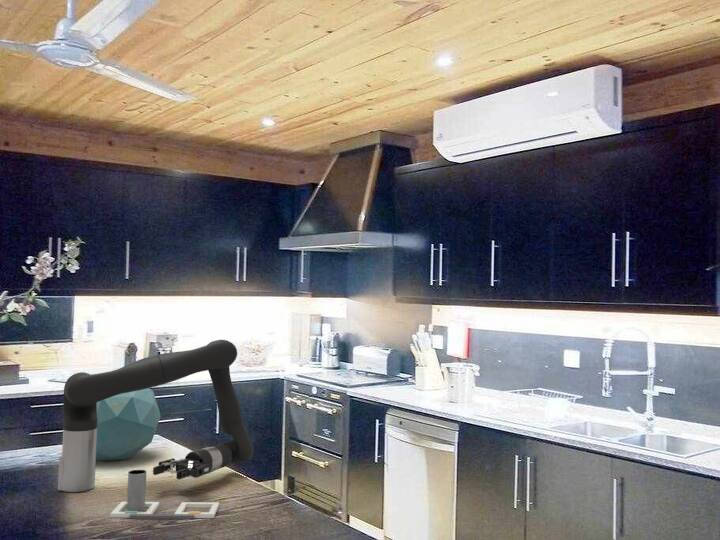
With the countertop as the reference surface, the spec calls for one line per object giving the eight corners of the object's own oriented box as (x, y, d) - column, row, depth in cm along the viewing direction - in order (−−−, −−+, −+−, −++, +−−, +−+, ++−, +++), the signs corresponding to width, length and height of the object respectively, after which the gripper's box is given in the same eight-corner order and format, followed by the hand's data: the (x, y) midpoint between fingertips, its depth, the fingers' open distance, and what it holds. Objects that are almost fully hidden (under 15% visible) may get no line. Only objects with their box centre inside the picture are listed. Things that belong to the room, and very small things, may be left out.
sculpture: (169, 408, 255) (129, 346, 242) (180, 448, 229) (135, 382, 216) (98, 448, 249) (53, 388, 236) (101, 495, 224) (50, 430, 211)
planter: (136, 507, 180) (137, 468, 180) (148, 510, 178) (150, 471, 178) (122, 512, 176) (124, 472, 176) (135, 515, 174) (137, 474, 174)
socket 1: (110, 517, 171) (110, 512, 171) (121, 505, 181) (121, 500, 181) (150, 517, 172) (150, 512, 172) (159, 505, 182) (159, 500, 182)
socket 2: (174, 517, 172) (174, 512, 172) (181, 505, 182) (181, 501, 182) (213, 518, 173) (213, 513, 173) (219, 506, 183) (219, 501, 183)
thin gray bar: (129, 518, 171) (129, 515, 171) (130, 517, 172) (130, 514, 172) (193, 519, 172) (193, 516, 172) (193, 518, 173) (193, 515, 173)
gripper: (185, 445, 205) (146, 456, 190) (223, 451, 198) (186, 463, 184) (184, 470, 204) (145, 483, 190) (222, 477, 198) (185, 491, 183)
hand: (165, 473), depth 187 cm, fingers open, 8 cm apart
